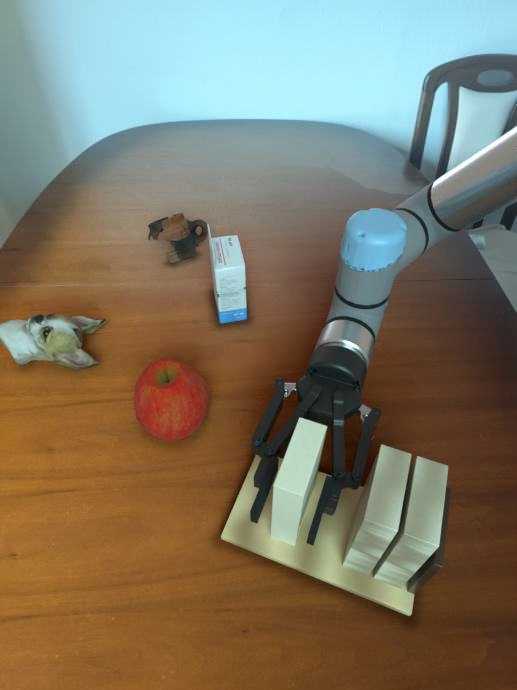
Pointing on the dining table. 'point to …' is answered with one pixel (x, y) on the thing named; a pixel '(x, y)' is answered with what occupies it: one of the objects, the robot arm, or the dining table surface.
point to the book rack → (362, 530)
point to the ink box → (228, 277)
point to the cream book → (296, 480)
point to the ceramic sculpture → (50, 339)
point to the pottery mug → (179, 235)
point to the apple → (171, 400)
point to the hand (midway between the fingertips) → (282, 528)
